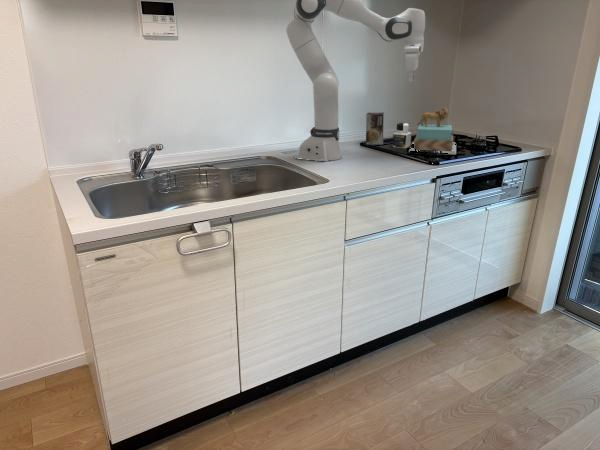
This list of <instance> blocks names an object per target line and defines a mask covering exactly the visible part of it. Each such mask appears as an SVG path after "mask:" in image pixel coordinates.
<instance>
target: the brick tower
mask: <svg viewBox="0 0 600 450" xmlns="http://www.w3.org/2000/svg"><path fill="white" fill-rule="evenodd" d="M427 125H428V127H426V126H425V124H423V125H421V123H420V124H419V125H418V127H417V130H416V131H417V133H416V135H415V138H414V140H413V141H412V143H411V145H412V144H414V148H411V147H410V148H411V149H410V148H409V150H408V153H410V151H415V149H416V151H417V152H418V150H419V151H420V150H440V151H442V153H448V154H447V155H457V144H456V142H455V141H454V134H452V133H453V132H452V131H453V124H452V125H451V124H440V126H441V127H438V126H437V124H427ZM455 144H456V145H455Z"/></svg>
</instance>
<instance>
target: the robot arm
mask: <svg viewBox="0 0 600 450" xmlns="http://www.w3.org/2000/svg"><path fill="white" fill-rule="evenodd" d="M322 11H326V12H331V13H332V14H334V15H336V16H338V17H339V18H342V19H344V20H345V19H346V20H350V21H354V22H358V23H360V24H362V25H364V26H366V27H368V28H370V29H372V30H374V31H375V32H377V34H378V35H379V37H380V38H381V39H382V40H384V41H385V42H388V43H391V42H395V41H398V40H402V39H403V44H402V46H403V47H402V52H403V53H404V55H405V56H404V60H405V61H404V62H405V63H404V64H405V71H406V72H407V76H408V77H407V79H408V82H413V81H414V80H415V75H416V70H417V69H418V68H419V57H420V56H421V53H423V52H424V45H425V44H424V43H425V38H424V35H425V31H426V13H425V11H424V10H423V9H422V8H418V7H408V8H407V9H406V10H404V11H403V12H401V13H399V14H397V15H395V16H393V17H383V16H381V15H379V14H377V13H376V12H374V11H372V10H370V9H369V8H368V7H367V6H366V5H365V4H364V2H363V0H296V1H295V3H294V11H293V12H294V13H293V15H294V19H292V20H291V21H290V22H289V23H288V24H287V26H286V31H285V32H286V35H287V38H288V40H289V43H290V46H291V48H292V50H293V51H294V54H295V55H296V57H297V59H298V61H299V62H300V65H301V67H302V69H303V70H304V71H305V73H306V74H307V76H308V78H309V80H310V81H311V82H312V84H313V85H312V88H313V89H312V91H313V108H314V112H313V113H314V126H313V127H312V128H311V129H310V130H309V133H310V136H309V137H307V139H305V140H304V141H303V142H301V144H300V145H299V148H298V152H297V153H296V154H295V155H294V156H295V157H296V158H302V159H309V160H315V161H314V162H317V161H325V162H328V161H327V160H331V161H336V160H340V159H341V158H342V154H341V149H340V141H339V140H340V128H339V84H340V83H339V79H338V77H337V74H336V72H335V71H334V69H333V67H332V65H331V63H330V61H329V60H328V58H327V56H326V54H325V52H324V50H323V49H322V47H321V45H320V43H319V41H318V39H317V37H316V36H315V33H314V32H313V29H312V23H313V22H314V21H315V20H316V19H317V18H318V17H319V15H320V13H322Z"/></svg>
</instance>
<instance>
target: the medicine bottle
mask: <svg viewBox="0 0 600 450" xmlns="http://www.w3.org/2000/svg"><path fill="white" fill-rule="evenodd" d="M409 128H410V125H409V123H406V122H399V123H397V124H396V132H393V135H392V147H393V148H397V149H407V148H410V147H411V145H412V143H411V142H412V132H411V131H409V130H410V129H409Z"/></svg>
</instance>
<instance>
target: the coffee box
mask: <svg viewBox="0 0 600 450" xmlns="http://www.w3.org/2000/svg"><path fill="white" fill-rule="evenodd" d="M365 117H366V121H365V123H366V126H365V127H366V128H365V144H366V143H373V144H372V145H383V144H384V127H385V123H384V121H385V112H367V113H366V115H365Z"/></svg>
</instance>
